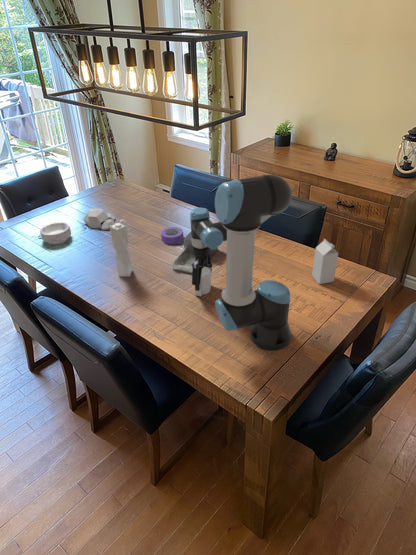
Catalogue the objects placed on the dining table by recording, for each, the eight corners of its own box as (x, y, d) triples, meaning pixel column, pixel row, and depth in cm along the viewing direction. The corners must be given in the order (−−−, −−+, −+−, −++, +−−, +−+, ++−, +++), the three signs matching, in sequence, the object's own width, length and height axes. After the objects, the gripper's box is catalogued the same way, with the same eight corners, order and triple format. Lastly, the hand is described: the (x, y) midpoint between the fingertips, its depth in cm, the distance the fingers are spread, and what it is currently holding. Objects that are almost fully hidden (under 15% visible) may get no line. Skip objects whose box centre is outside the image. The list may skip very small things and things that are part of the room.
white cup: (201, 283, 189) (200, 264, 184) (215, 289, 185) (215, 270, 179) (190, 291, 184) (189, 272, 179) (204, 297, 180) (203, 278, 174)
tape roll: (171, 247, 217) (171, 239, 215) (157, 240, 224) (156, 232, 221) (188, 239, 224) (187, 231, 222) (173, 232, 231) (172, 224, 228)
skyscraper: (136, 269, 201) (128, 216, 185) (133, 279, 194) (124, 224, 179) (118, 269, 201) (109, 216, 186) (115, 279, 194) (105, 224, 179)
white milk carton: (319, 284, 186) (324, 247, 175) (311, 276, 191) (316, 239, 181) (333, 282, 187) (340, 244, 177) (325, 273, 193) (331, 237, 182)
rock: (114, 216, 251) (111, 201, 246) (119, 230, 235) (117, 215, 230) (83, 221, 246) (80, 206, 241) (86, 236, 231) (83, 220, 225)
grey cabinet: (197, 275, 194) (196, 255, 188) (171, 269, 199) (169, 249, 193) (218, 249, 214) (217, 230, 208) (193, 245, 219) (192, 226, 212)
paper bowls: (38, 241, 227) (35, 228, 223) (64, 232, 235) (61, 219, 231) (50, 251, 218) (47, 237, 213) (77, 241, 226) (74, 228, 221)
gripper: (198, 258, 162) (200, 305, 175) (219, 234, 179) (219, 278, 191) (181, 255, 165) (184, 301, 177) (203, 231, 181) (204, 275, 194)
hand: (202, 289), depth 184 cm, fingers open, 9 cm apart
